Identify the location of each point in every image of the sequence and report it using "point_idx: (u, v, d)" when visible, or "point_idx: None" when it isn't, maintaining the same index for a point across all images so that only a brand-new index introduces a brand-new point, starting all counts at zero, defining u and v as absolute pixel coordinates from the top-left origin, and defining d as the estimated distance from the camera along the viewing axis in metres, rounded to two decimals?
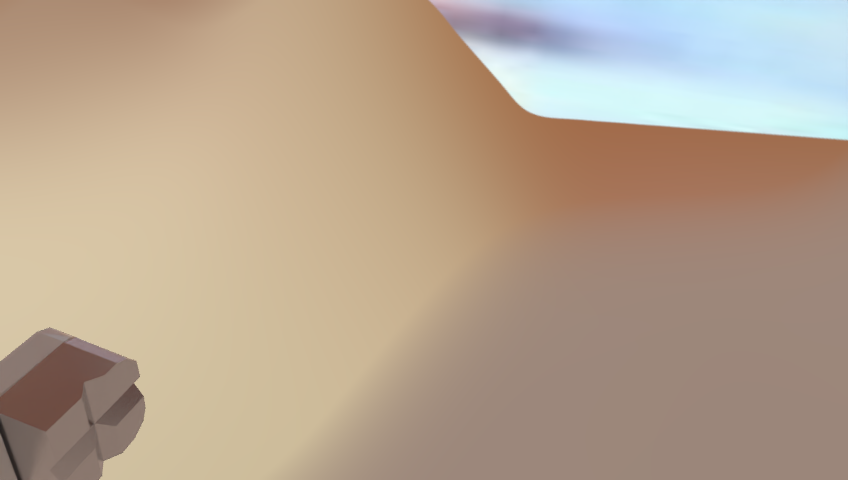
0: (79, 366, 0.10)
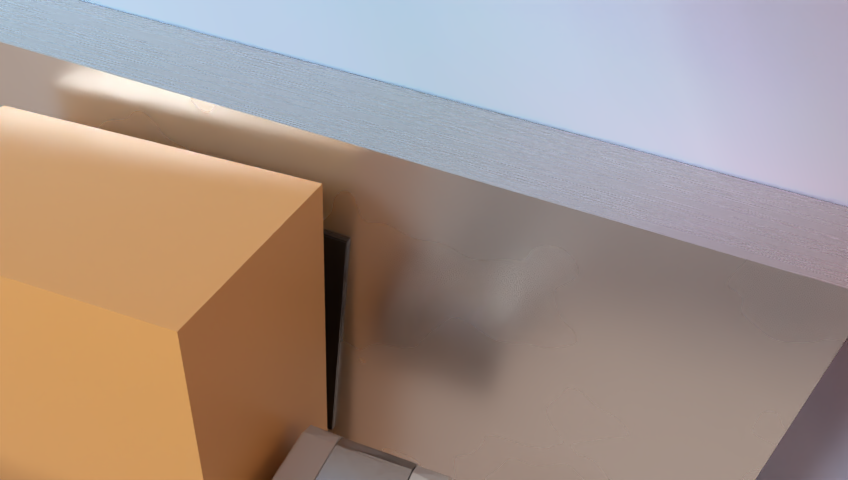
0: (362, 474, 0.09)
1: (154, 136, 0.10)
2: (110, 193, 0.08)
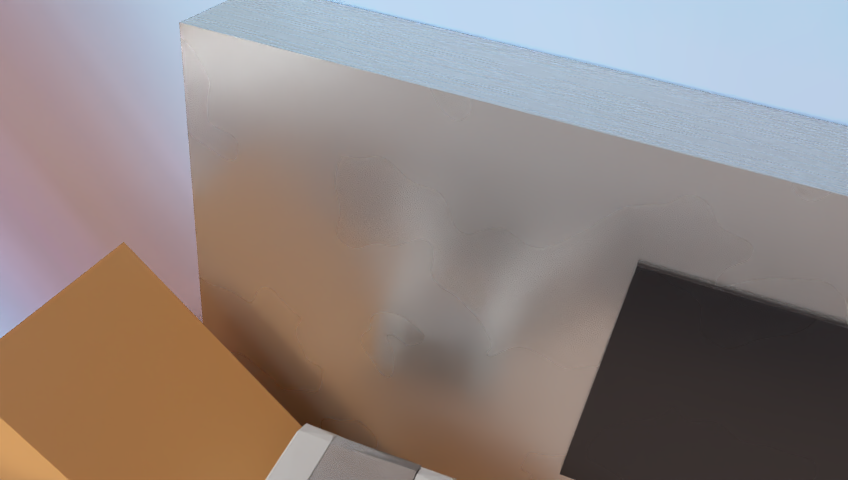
0: (357, 472, 0.09)
1: (701, 226, 0.08)
2: None
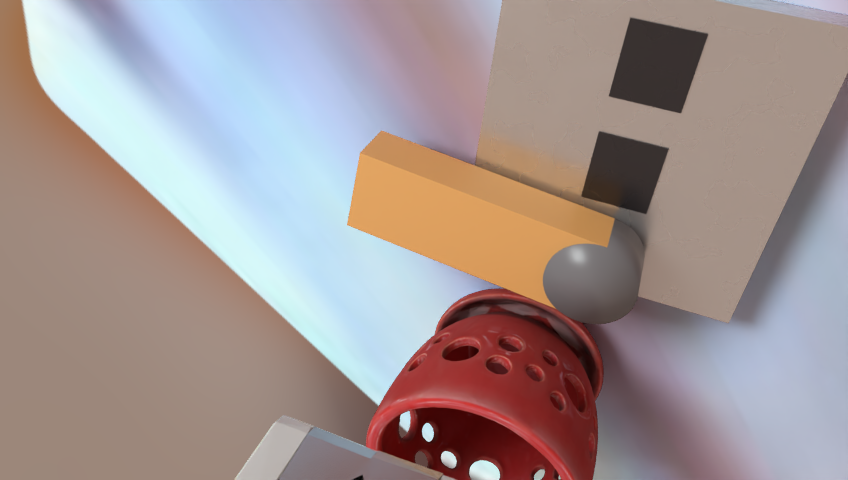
0: (333, 463, 0.09)
1: (645, 5, 0.33)
2: None
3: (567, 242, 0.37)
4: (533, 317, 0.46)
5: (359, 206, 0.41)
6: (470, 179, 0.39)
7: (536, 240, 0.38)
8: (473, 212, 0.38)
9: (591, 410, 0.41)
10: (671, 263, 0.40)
